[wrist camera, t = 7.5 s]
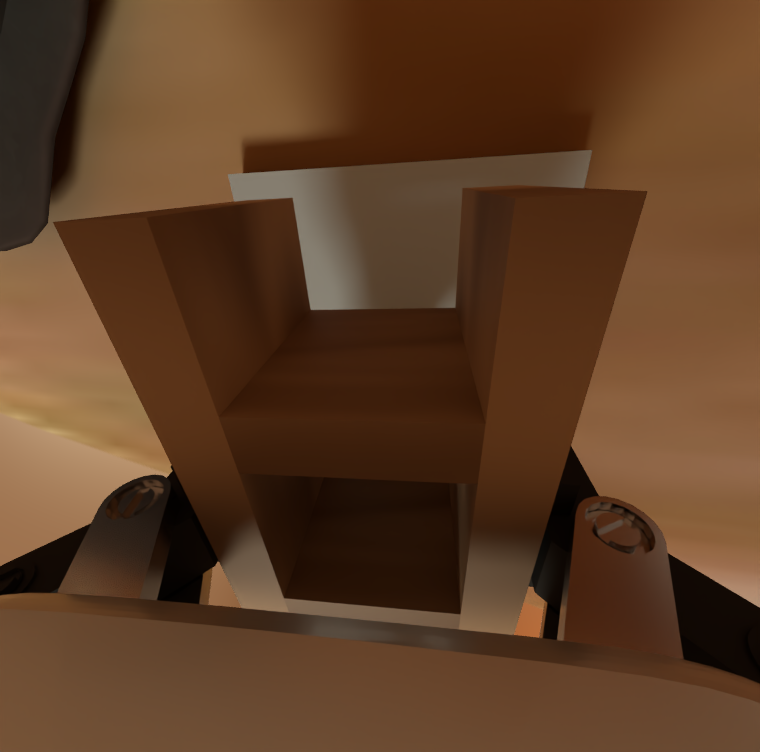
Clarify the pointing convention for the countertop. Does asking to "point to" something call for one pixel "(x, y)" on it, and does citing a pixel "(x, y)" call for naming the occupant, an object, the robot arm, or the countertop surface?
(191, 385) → the wooden h-shaped stand
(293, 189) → the base
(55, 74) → the black low round piece
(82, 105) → the countertop surface
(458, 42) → the countertop surface
